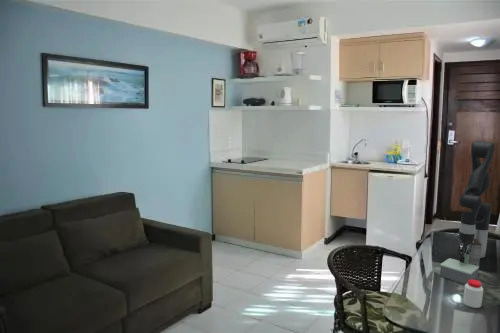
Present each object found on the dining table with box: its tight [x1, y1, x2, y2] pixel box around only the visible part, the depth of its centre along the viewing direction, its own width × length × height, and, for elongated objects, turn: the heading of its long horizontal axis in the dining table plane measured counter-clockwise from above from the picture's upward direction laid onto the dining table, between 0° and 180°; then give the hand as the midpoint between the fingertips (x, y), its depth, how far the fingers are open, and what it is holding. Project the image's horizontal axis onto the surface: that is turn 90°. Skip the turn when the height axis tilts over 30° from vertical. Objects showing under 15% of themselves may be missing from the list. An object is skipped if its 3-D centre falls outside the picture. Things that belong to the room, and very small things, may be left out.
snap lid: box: [440, 253, 480, 275], centre depth 225 cm, size 12×15×7 cm
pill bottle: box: [462, 279, 484, 309], centre depth 198 cm, size 8×8×11 cm
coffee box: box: [468, 239, 482, 270], centre depth 237 cm, size 9×6×16 cm
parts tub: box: [439, 266, 479, 285], centre depth 226 cm, size 12×15×6 cm
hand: (463, 260), depth 229 cm, fingers open, 5 cm apart
